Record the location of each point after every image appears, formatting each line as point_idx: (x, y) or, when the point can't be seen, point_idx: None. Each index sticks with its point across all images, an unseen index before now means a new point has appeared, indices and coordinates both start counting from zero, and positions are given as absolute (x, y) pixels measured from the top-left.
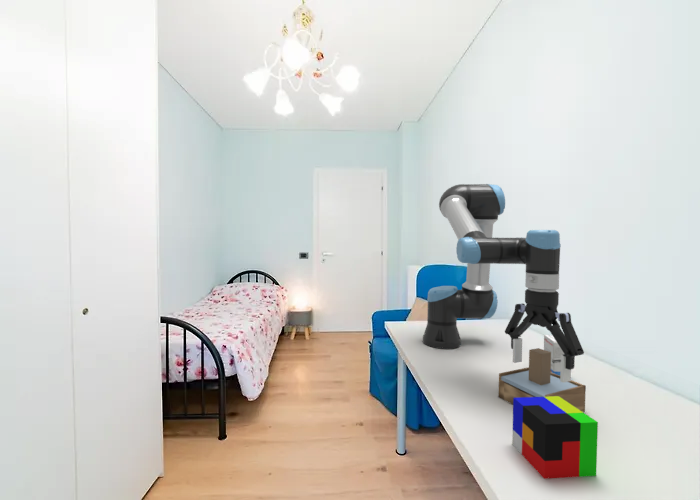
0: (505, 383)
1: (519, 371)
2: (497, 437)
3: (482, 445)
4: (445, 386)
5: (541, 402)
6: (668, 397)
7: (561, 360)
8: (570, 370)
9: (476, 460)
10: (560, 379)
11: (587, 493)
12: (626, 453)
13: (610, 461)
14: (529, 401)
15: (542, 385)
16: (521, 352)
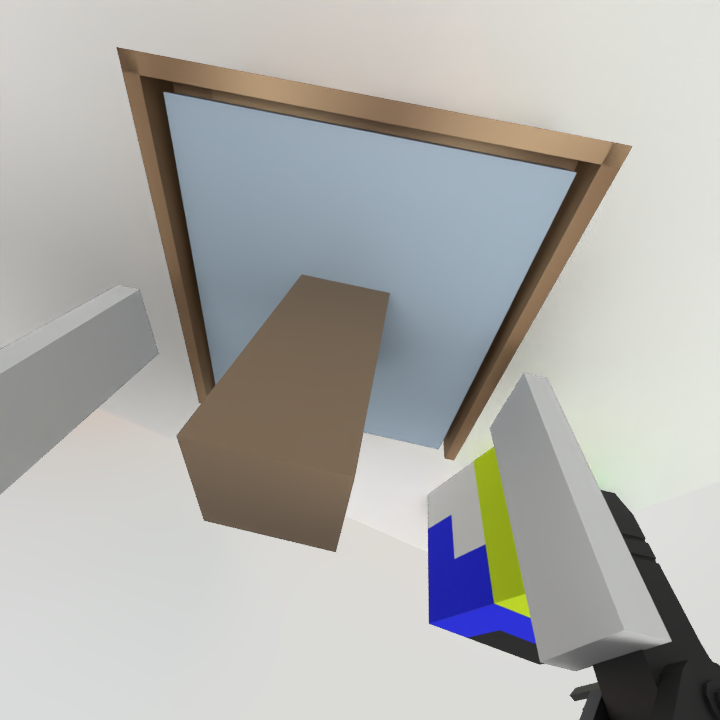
0: None
1: (188, 278)
2: (394, 492)
3: (392, 519)
4: (140, 395)
5: (500, 622)
6: None
7: (530, 589)
8: (573, 447)
9: (410, 544)
10: (493, 439)
11: None
12: (703, 372)
13: (639, 434)
14: (471, 625)
15: (380, 359)
16: (73, 337)
